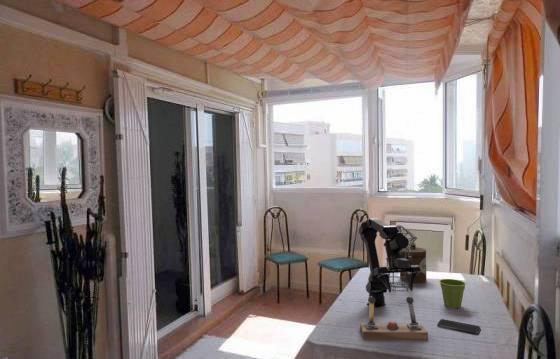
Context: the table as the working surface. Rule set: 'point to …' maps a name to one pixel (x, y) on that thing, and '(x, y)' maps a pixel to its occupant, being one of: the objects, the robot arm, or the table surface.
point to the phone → (459, 326)
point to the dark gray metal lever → (371, 310)
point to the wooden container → (416, 262)
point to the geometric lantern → (405, 257)
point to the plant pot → (452, 292)
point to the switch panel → (393, 331)
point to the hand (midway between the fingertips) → (400, 291)
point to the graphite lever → (411, 310)
